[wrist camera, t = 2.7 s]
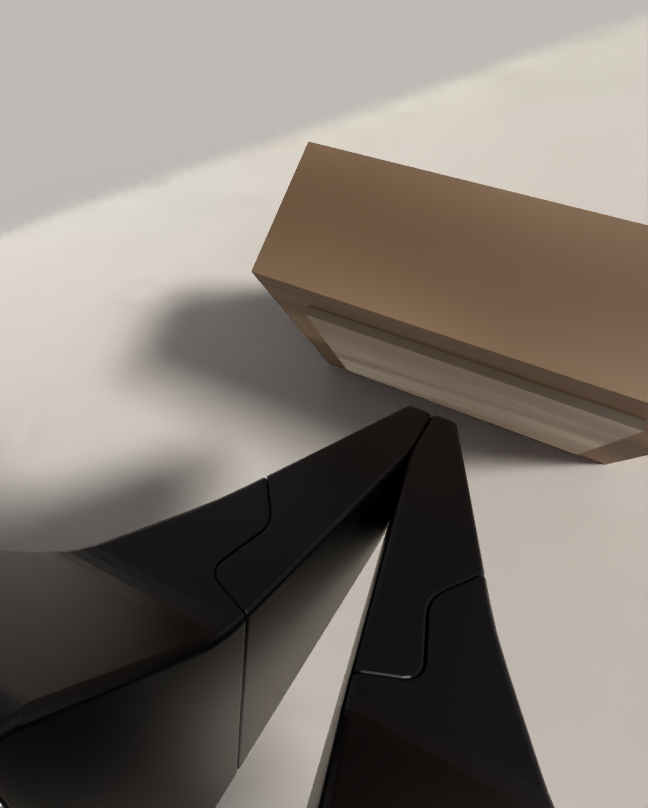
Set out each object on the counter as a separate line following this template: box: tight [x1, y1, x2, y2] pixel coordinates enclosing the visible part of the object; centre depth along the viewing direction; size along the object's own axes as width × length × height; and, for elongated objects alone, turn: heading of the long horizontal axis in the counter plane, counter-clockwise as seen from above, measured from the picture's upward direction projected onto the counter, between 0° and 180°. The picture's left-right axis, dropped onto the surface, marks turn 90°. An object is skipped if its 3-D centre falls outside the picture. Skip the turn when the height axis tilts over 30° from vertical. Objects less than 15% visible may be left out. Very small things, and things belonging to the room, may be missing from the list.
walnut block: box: [251, 142, 648, 464], centre depth 13 cm, size 3×9×8 cm, turn 67°
